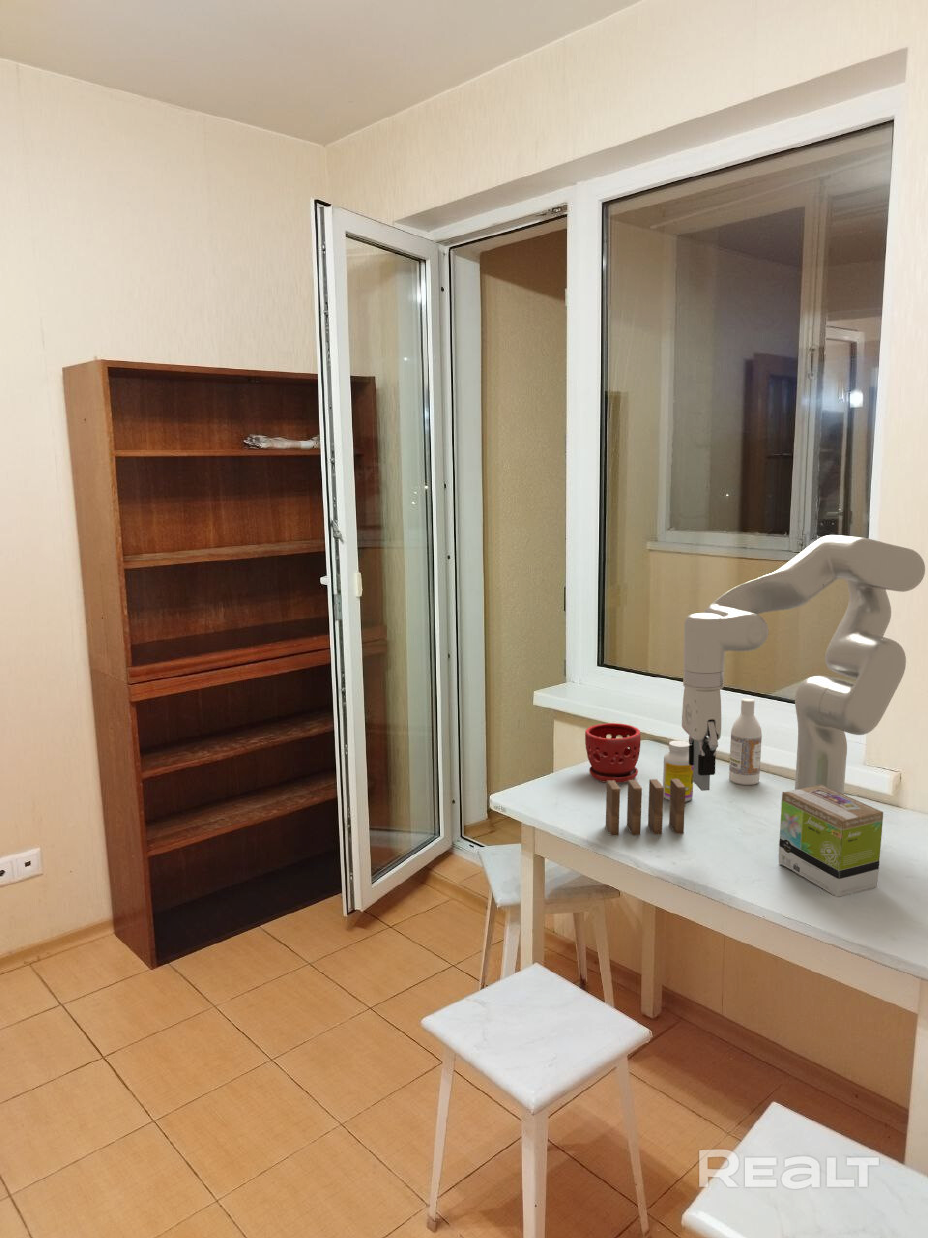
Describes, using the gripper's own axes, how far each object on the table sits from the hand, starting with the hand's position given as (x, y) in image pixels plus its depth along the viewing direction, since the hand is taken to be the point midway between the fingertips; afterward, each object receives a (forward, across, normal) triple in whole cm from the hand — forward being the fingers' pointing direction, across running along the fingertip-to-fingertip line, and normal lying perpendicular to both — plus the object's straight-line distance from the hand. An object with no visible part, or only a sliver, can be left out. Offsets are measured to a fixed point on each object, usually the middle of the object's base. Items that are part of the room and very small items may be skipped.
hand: (701, 768), depth 174 cm
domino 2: (+16, -10, -11) cm, 22 cm away
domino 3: (+17, -10, -6) cm, 20 cm away
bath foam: (+18, -37, +23) cm, 47 cm away
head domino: (+4, 0, 0) cm, 4 cm away
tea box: (+17, +13, +19) cm, 29 cm away
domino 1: (+16, -10, -15) cm, 24 cm away
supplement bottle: (+17, -27, +4) cm, 32 cm away
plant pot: (+17, -42, -8) cm, 46 cm away
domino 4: (+17, -10, -2) cm, 19 cm away
